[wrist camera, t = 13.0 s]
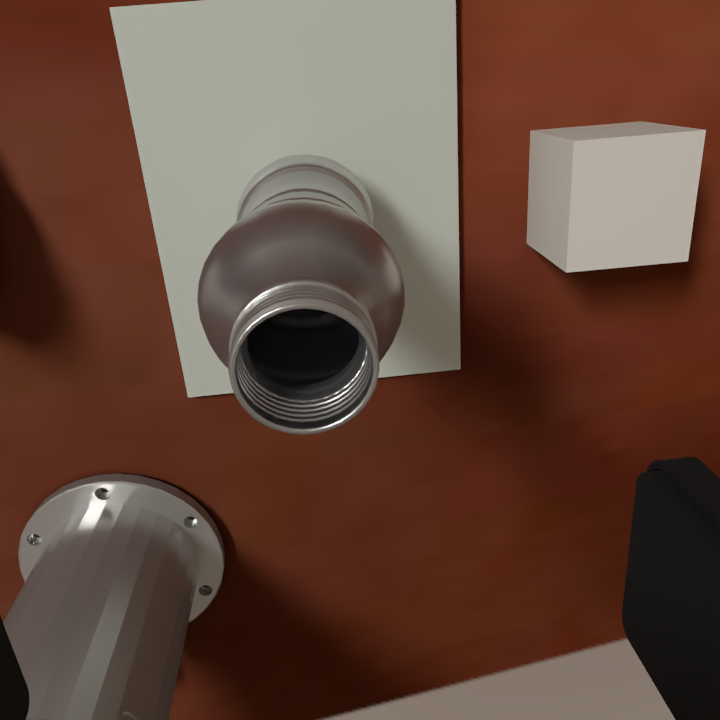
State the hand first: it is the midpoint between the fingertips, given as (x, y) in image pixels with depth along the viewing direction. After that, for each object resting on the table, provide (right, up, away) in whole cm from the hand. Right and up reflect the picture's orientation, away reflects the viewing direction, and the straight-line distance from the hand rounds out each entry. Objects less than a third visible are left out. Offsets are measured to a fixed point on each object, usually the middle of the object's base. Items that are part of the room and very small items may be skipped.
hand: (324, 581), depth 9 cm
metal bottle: (-2, +11, +25) cm, 27 cm away
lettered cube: (+13, +13, +26) cm, 32 cm away
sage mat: (-2, +11, +25) cm, 28 cm away
